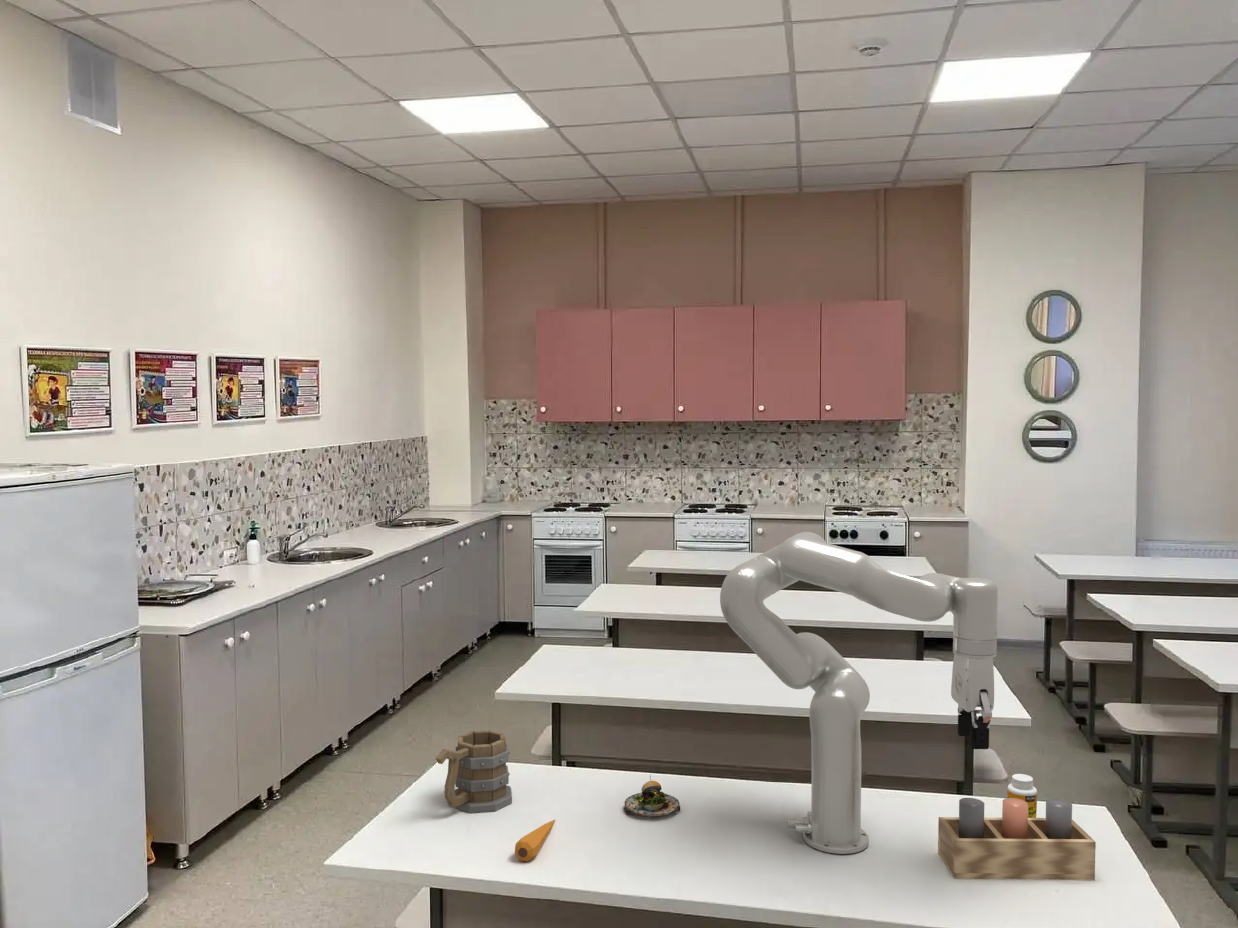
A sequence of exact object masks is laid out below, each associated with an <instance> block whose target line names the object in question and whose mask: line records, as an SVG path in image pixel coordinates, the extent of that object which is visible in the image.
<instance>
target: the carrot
mask: <svg viewBox="0 0 1238 928" xmlns="http://www.w3.org/2000/svg"><path fill="white" fill-rule="evenodd" d="M555 822H556V819H553V820H551V821H548V822H546V823H544V824H541V826H539V827H538V828H536V829H533V830H532V831H531V832H529V833H527V834H526V835H524V836H523V837H521V838H520V839H519V840H517V842H516V843H515V845H514V855H515V856H516V857H517V859H518V860H519V861H520V862H521V861H522V862H531V860H533V859H534V858H535V857H536V856H537V855H538V853H539V851H540V850H541V848H542V846H543V844H544V843H545V841H546V840H547V838H548V836H549V834H550V833H551V831H552V829H553V826H554V824H555Z"/></svg>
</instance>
